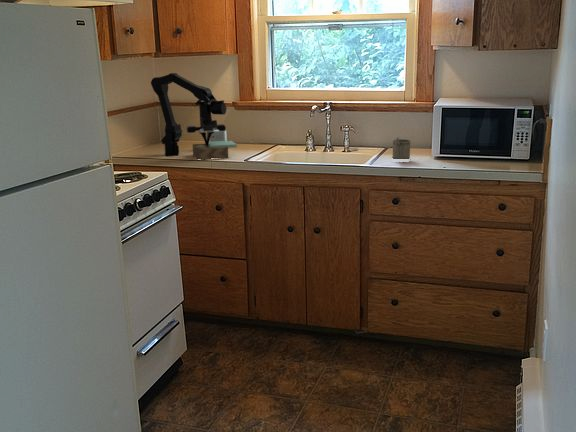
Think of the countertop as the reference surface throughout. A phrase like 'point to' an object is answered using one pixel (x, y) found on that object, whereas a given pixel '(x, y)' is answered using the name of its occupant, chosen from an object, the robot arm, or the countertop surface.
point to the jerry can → (401, 149)
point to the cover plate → (222, 144)
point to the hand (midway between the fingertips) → (206, 145)
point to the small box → (218, 136)
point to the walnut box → (209, 152)
